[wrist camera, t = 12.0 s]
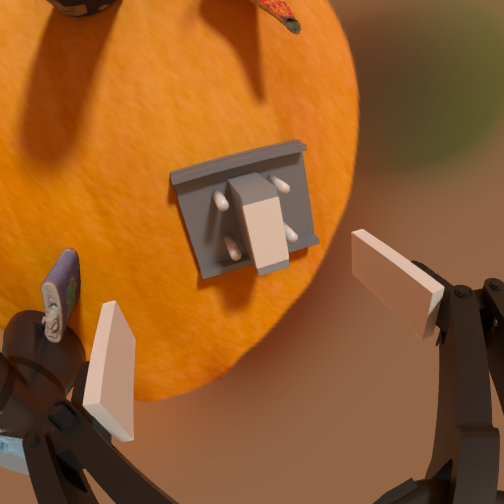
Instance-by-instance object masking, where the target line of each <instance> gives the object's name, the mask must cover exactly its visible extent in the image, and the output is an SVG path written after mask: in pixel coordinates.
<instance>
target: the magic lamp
mask: <svg viewBox="0 0 504 504" xmlns="http://www.w3.org/2000/svg"><path fill="white" fill-rule="evenodd" d="M249 1H251V2H252V3H254V4H255V5H257V6H258V7H260V8H261V9H263V10H264V11H266V12H268V13H269V14H271V15H272V16H273V17H275V18H276V19H278V20H279V21H280V22H281V23H282V24H283V25H284V26H285V27H286V28H287V29H288V30H289V31H290V32H292V33H294V34H299V33H300V31H301V25H300V23H299V21H298V20H297V18H296V17H295V15H294V14H293V13H292V11H291V10H290V9H289V7H288V6H287V5H286V3H285V2H284V1H283V0H249Z"/></svg>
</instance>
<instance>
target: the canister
mask: <svg viewBox="0 0 504 504" xmlns="http://www.w3.org/2000/svg"><path fill="white" fill-rule="evenodd" d="M47 1H48V2H49V3H51V4H52V5H53V6H55V7H56V8H57V9H58V10H59V11H61V12H62V13H64V14H66V15H69V16H76V17H80V16H87V15H91V14H94V13H97V12H99V11H101V10H103V9H105V8H106V7H108V6H109V5H111V4H112V3H113V2H114V1H115V0H47Z"/></svg>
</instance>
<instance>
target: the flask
mask: <svg viewBox="0 0 504 504" xmlns="http://www.w3.org/2000/svg"><path fill="white" fill-rule="evenodd" d="M80 283H81V280H80V269H79V259H78V254H77V253H76V251H75V250H74V249H71V248H66V249H65V250H64V251H63V252H62V254H61V255H60V257H59V258H58V260H57V262H56V263H55V265H54V266H53V268H52V269H51V271H50V272H49V274H48V275H47V277H46V278H45V280H44V281H43V282H42V284H41V292H42V297H43V300H44V308H45V316H44V317H43V320H42V323H43V324H44V321H46V326H45V336H46V338H48V340H49V341H50V342H54V343H58V342H60V341H61V339H62V337H63V334H64V331H65V329H66V326H67V323H68V321H69V319H70V316H71V314H72V311H73V309H74V307H75V305H76V303H77V301H78V299H79V293H80V286H81V285H80Z"/></svg>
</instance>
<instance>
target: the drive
mask: <svg viewBox="0 0 504 504" xmlns="http://www.w3.org/2000/svg"><path fill="white" fill-rule="evenodd" d="M227 181H228V185H229V189H230V193H231V198H232V202H233V206H234V210H235V214H236V218H237V222H238V227H239V231H240V235H241V239H242V243H243V246H244V248H245V250H246V252H247V254H248V256H249V258H250V260H251V262H252V264H253V265H254V267H255V269H256V271H257V273H258V275H259V276H261V275H265V274H268V273H271V272H274V271H277V270H281V269H284V268H287V267H290V264H289V253H288V247H287V241H286V236H285V230H284V224H283V218H282V213H281V207H280V201H279V197H278V195H277V189H276V187H275V186H274V185H273V184H271V183H270V182H269V181H267V180H266V179H265V178H263V177H262V176H260V175H259V174H258V173H256V172H253V173H249V174H245V175H241V176H237V177H233V178H230V179H227Z"/></svg>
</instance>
